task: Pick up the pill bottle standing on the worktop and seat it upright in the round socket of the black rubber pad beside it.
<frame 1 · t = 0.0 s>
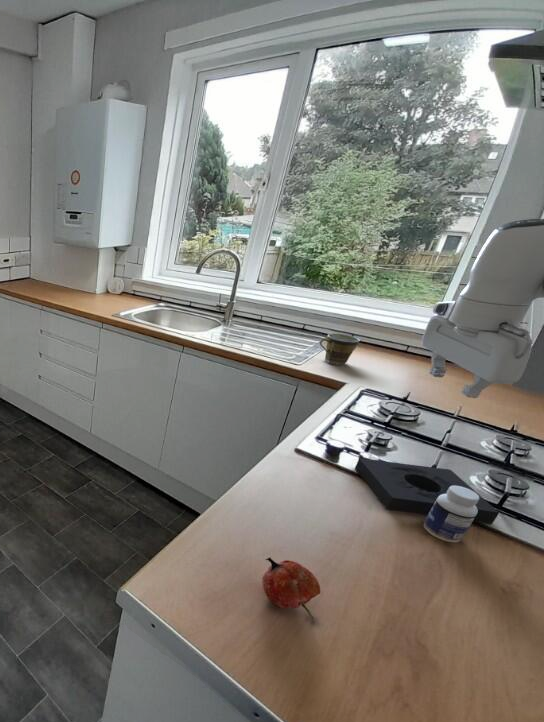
hand: (451, 385, 79), 25 cm above the counter, tool pointing down, fingers open, 8 cm apart
pomegranate: (285, 601, 65), on the counter
black pad: (417, 493, 88), on the counter
pill bottle: (440, 533, 78), on the counter
ceramic cup: (330, 362, 157), on the counter
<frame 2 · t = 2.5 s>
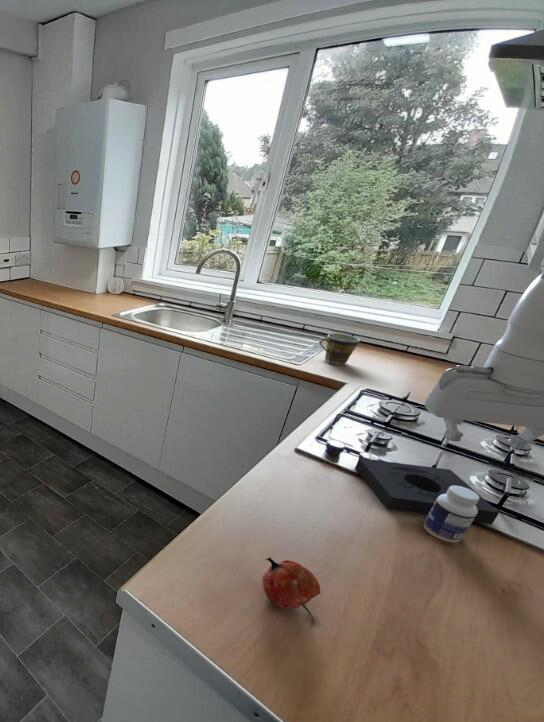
hand: (482, 443, 71), 19 cm above the counter, tool pointing down, fingers open, 8 cm apart
nothing on the counter moved.
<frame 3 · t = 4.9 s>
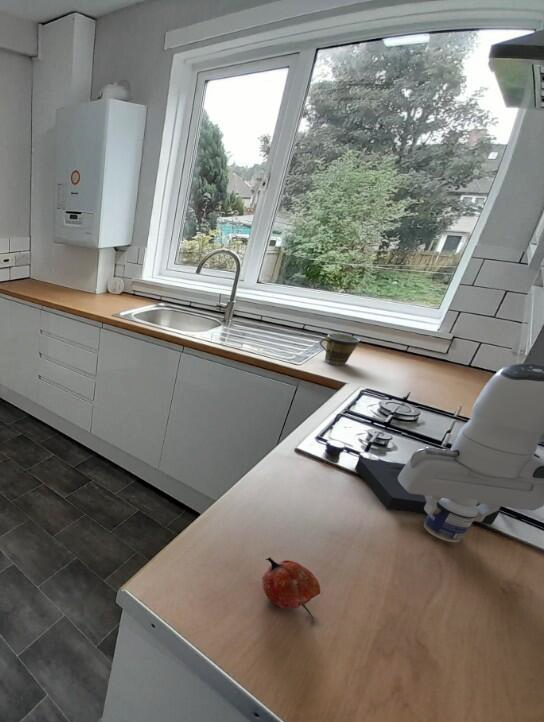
hand: (451, 515, 76), 4 cm above the counter, tool pointing down, fingers closed on pill bottle, 5 cm apart
pill bottle: (440, 533, 78), on the counter, touching gripper
everything else where it was.
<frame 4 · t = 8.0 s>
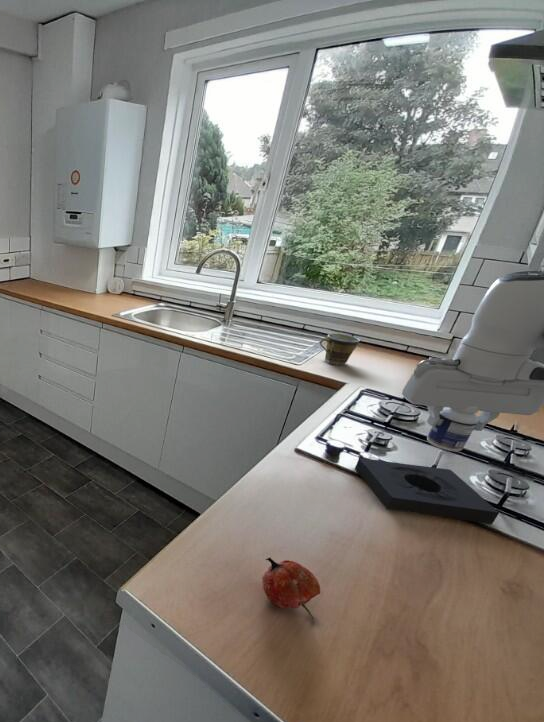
hand: (453, 427, 80), 17 cm above the counter, tool pointing down, fingers closed on pill bottle, 5 cm apart
pill bottle: (442, 445, 82), point 13 cm above the counter, touching gripper
everything else where it was.
when the fingers open (4 cm above the counter, at t = 11.3 s): pill bottle stays where it is, resting in black pad.
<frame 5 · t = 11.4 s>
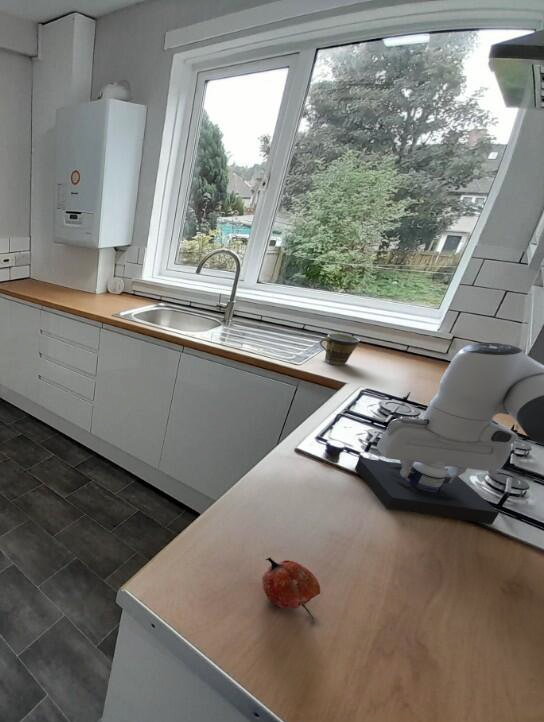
hand: (424, 478, 86), 4 cm above the counter, tool pointing down, fingers open, 5 cm apart
pill bottle: (416, 494, 88), resting in black pad
everything else where it was.
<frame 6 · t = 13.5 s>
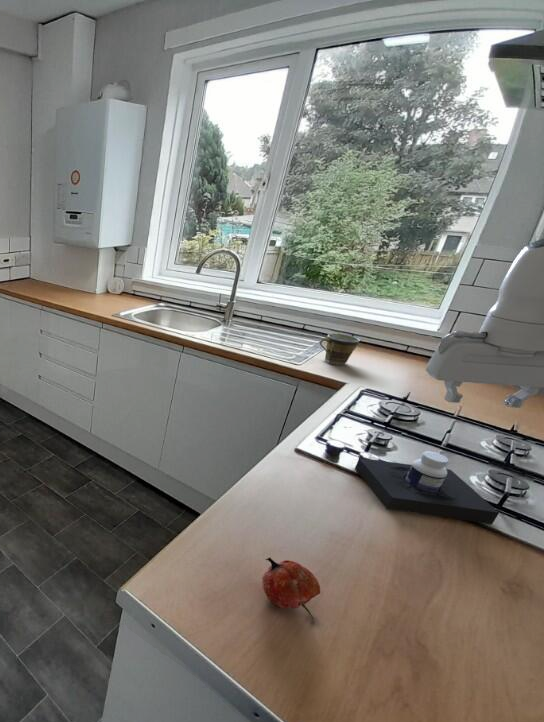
hand: (480, 403, 77), 23 cm above the counter, tool pointing down, fingers open, 8 cm apart
nothing on the counter moved.
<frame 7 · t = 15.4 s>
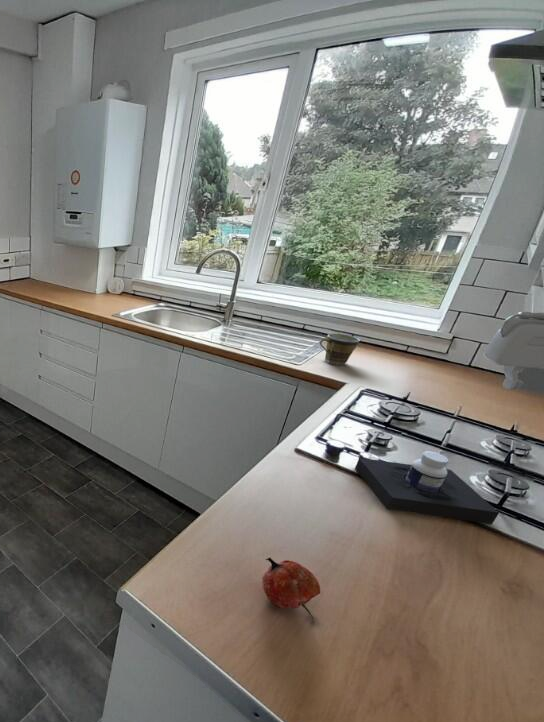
hand: (542, 391, 72), 27 cm above the counter, tool pointing down, fingers open, 8 cm apart
nothing on the counter moved.
at the end: pill bottle 0.1 cm off-centre in the black pad, point 0.0 cm above the black pad's base; pill bottle tilted 0°; the gripper is holding nothing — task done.
